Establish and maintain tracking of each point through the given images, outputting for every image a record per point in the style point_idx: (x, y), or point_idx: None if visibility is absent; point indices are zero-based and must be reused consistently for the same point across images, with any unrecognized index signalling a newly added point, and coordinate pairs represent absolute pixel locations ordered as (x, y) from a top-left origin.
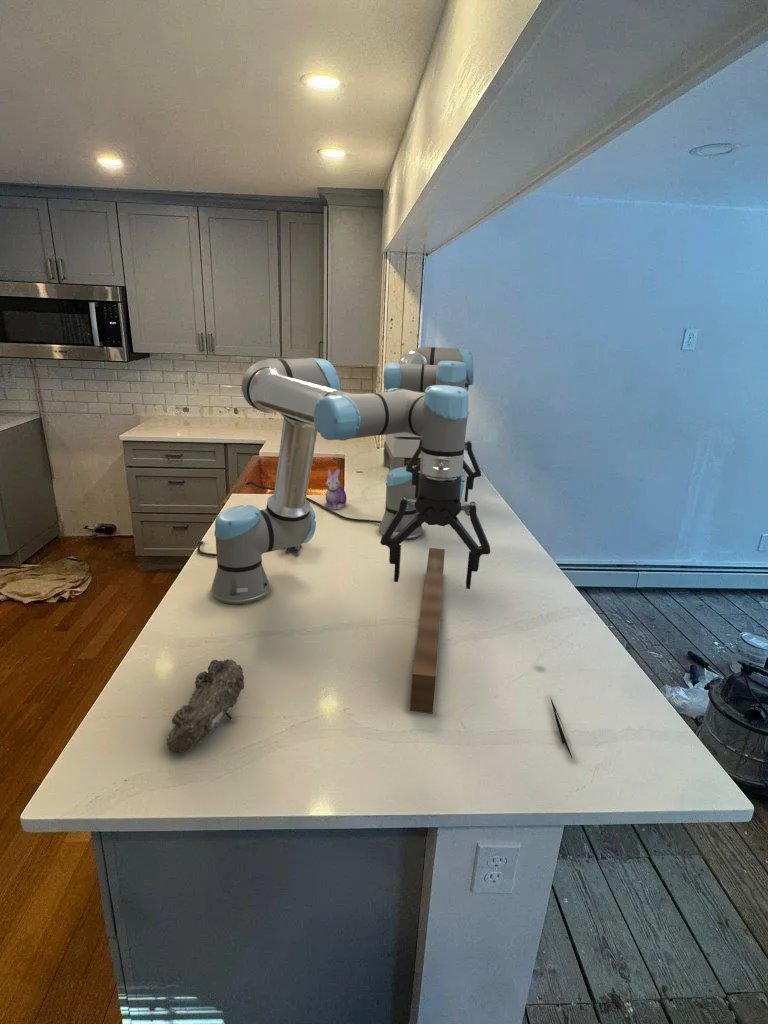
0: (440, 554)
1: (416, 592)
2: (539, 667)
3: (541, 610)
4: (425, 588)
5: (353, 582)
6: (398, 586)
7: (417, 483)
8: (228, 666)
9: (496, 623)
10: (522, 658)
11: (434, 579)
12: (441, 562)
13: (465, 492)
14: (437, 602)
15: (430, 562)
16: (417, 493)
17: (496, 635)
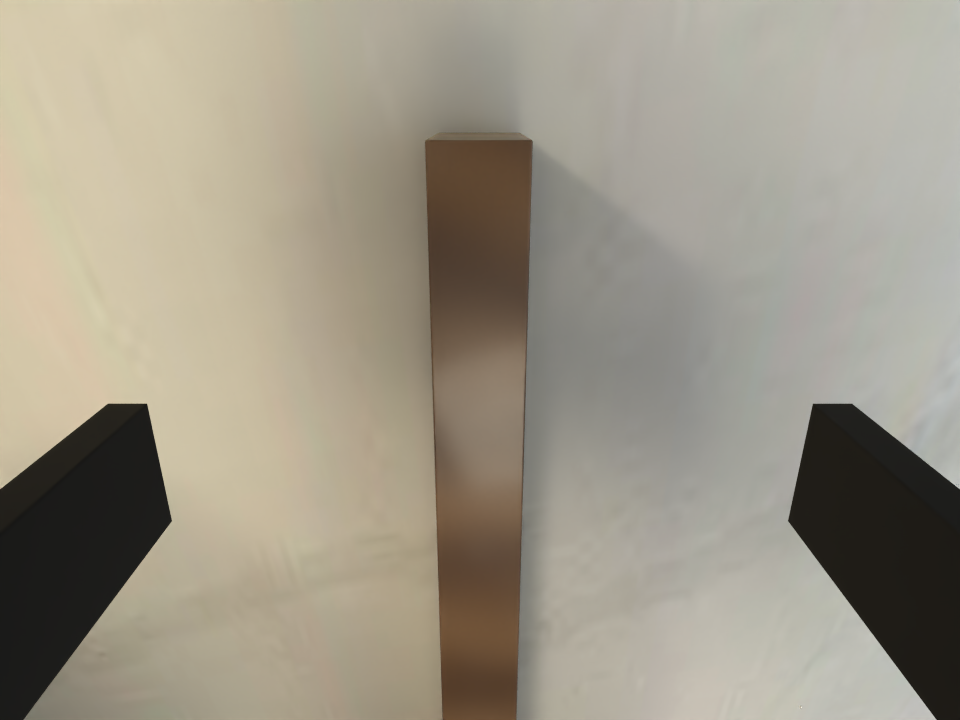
0: (504, 238)
1: (404, 341)
2: (799, 707)
3: (938, 388)
4: (446, 622)
5: (99, 305)
6: (314, 301)
7: (25, 691)
8: None
9: (722, 511)
10: (762, 670)
11: (481, 544)
12: (512, 353)
13: (860, 588)
14: (502, 708)
15: (449, 366)
16: (134, 560)
17: (706, 578)
